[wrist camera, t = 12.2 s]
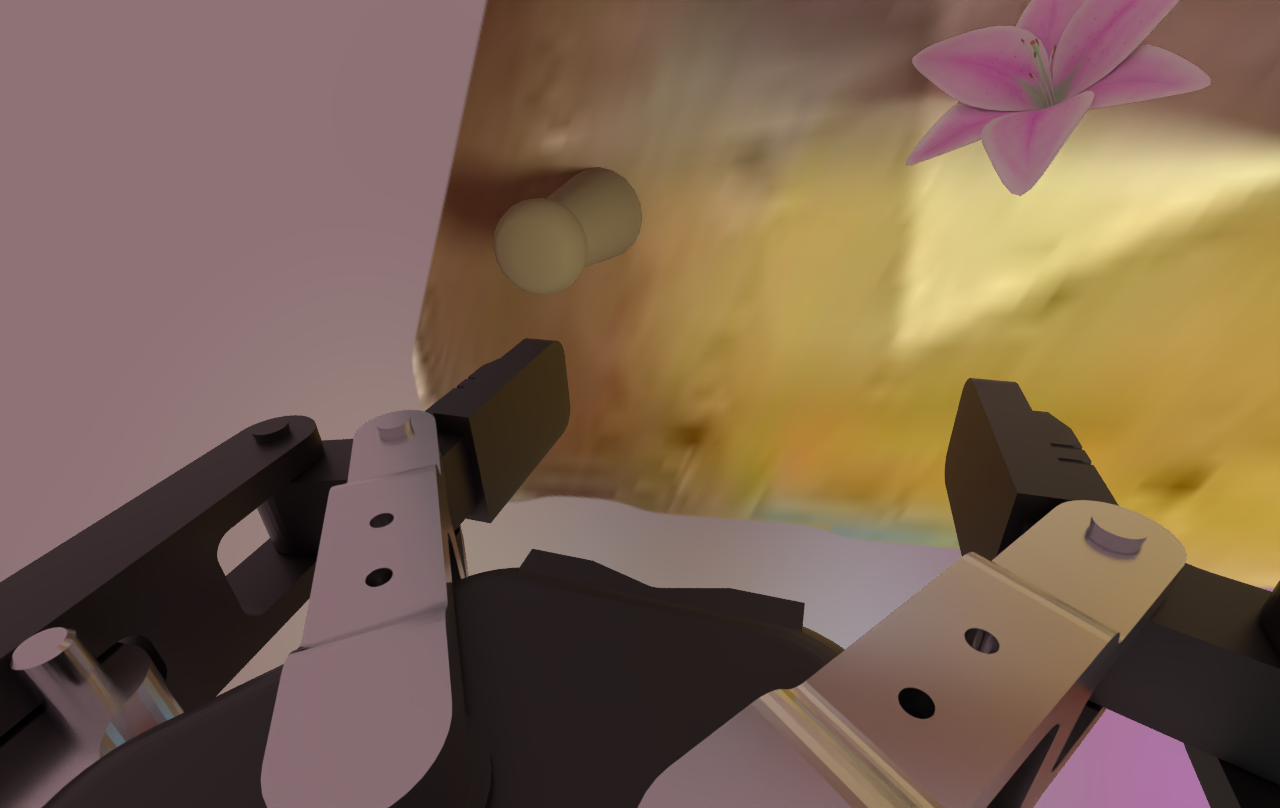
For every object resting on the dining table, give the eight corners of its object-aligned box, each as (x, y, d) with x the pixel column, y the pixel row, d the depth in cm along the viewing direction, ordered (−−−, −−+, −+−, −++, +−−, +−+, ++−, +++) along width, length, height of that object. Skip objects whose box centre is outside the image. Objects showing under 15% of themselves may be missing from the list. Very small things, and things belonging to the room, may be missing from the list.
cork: (557, 164, 40) (469, 191, 30) (643, 170, 38) (577, 201, 29) (561, 253, 43) (482, 302, 33) (641, 262, 41) (580, 316, 32)
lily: (1221, -45, 27) (1266, -200, 19) (1194, 218, 28) (1228, 169, 20) (934, 38, 34) (886, -51, 27) (922, 244, 35) (873, 214, 28)
